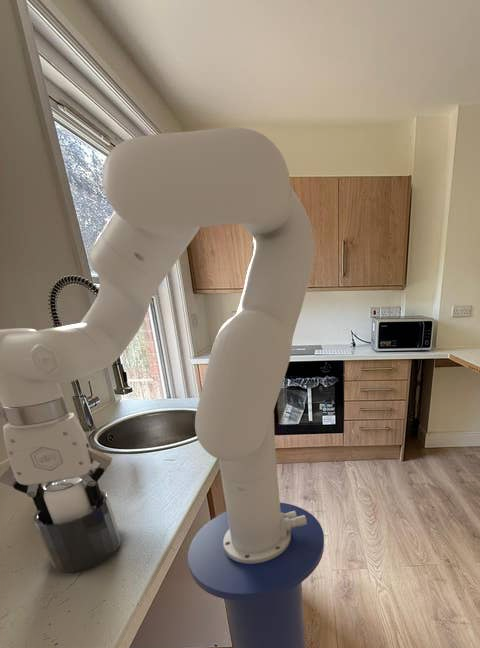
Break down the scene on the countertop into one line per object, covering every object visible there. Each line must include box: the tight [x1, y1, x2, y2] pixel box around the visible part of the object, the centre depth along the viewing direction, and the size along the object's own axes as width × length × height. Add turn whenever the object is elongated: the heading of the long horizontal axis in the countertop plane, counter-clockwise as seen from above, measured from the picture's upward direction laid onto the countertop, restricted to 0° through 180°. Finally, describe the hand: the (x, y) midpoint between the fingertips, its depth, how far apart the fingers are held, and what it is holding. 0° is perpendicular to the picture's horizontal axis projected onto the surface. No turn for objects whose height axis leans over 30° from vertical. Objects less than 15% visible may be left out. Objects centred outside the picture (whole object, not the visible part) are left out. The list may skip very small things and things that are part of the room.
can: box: [42, 477, 96, 524], centre depth 62 cm, size 6×6×12 cm
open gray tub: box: [33, 490, 122, 574], centre depth 63 cm, size 11×11×10 cm
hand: (72, 506), depth 61 cm, fingers closed on can, 6 cm apart
